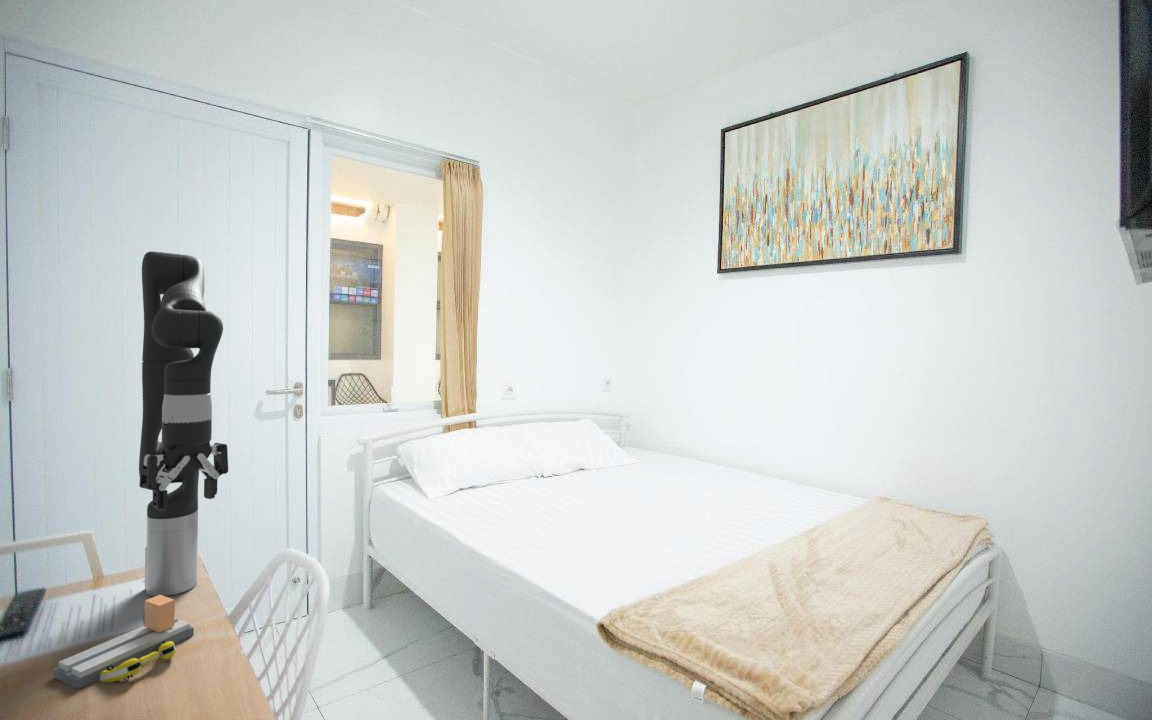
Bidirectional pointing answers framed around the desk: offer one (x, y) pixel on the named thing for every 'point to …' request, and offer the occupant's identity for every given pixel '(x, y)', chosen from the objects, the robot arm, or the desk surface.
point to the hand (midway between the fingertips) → (186, 504)
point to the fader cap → (159, 613)
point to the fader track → (117, 653)
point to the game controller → (137, 664)
